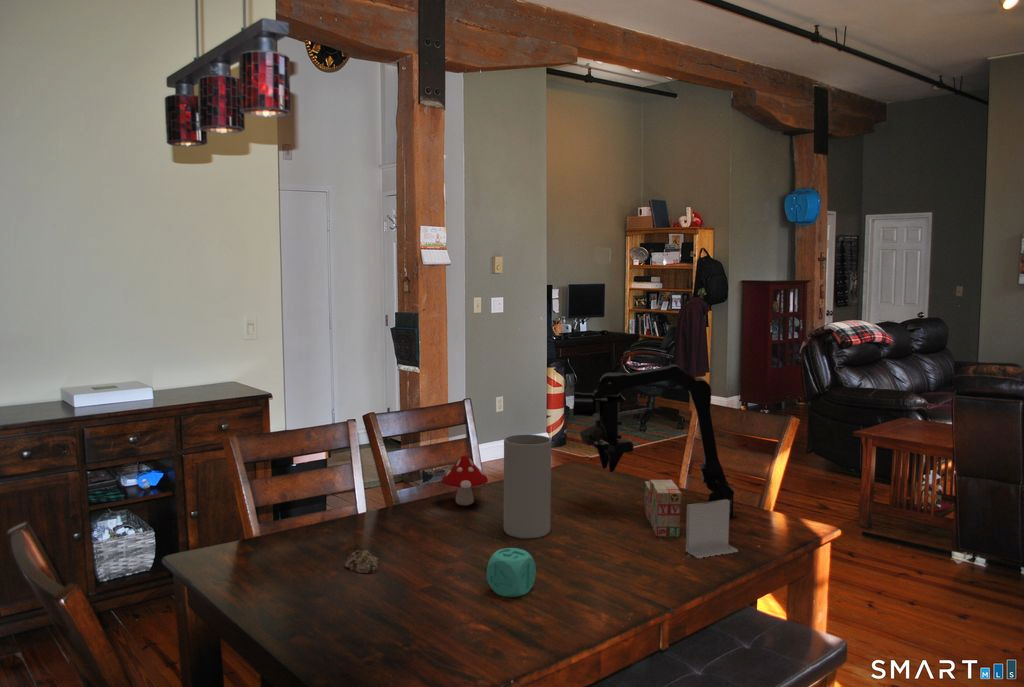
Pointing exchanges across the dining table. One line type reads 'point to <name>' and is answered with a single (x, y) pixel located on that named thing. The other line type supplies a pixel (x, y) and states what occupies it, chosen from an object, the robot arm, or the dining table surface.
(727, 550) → the bookend
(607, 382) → the robot arm
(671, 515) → the stack of blocks
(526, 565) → the decorative dice
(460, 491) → the decorative mushroom
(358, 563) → the mineral rock
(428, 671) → the dining table surface
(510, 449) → the cylinder vase
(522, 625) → the dining table surface
